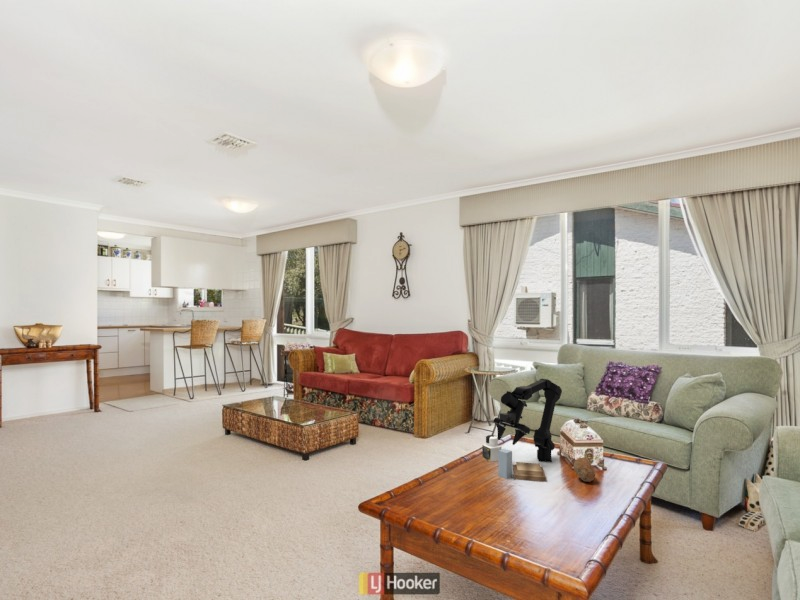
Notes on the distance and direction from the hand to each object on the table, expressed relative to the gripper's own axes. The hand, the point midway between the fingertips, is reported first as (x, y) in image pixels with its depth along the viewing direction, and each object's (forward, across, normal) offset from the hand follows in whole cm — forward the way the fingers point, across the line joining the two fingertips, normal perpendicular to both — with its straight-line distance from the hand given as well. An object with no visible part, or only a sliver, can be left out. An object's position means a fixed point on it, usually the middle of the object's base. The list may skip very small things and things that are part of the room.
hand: (505, 442), depth 221 cm
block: (+15, +4, +2) cm, 16 cm away
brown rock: (+2, +28, +26) cm, 39 cm away
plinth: (+10, +9, +12) cm, 18 cm away
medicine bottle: (+9, -17, +14) cm, 24 cm away
